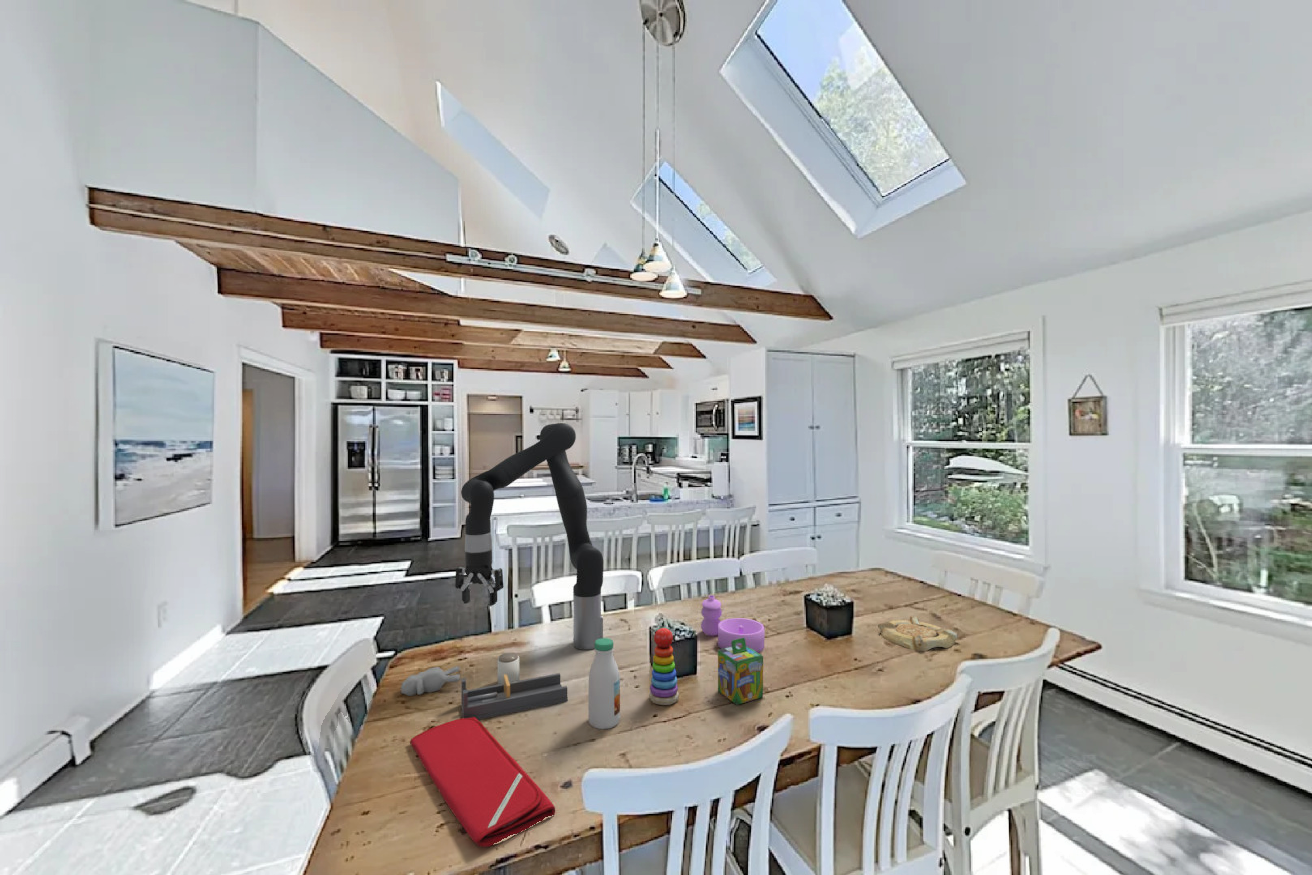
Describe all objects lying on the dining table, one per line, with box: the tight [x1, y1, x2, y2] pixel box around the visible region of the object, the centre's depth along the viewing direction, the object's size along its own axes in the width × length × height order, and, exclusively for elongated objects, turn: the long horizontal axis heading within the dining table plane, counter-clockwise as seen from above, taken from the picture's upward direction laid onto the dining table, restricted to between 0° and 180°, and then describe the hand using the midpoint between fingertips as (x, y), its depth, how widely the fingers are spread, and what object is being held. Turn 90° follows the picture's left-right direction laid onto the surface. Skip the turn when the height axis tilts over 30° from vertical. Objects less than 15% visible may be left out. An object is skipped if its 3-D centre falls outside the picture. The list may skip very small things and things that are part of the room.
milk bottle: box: [588, 637, 621, 730], centre depth 130 cm, size 8×8×20 cm
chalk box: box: [717, 638, 764, 706], centre depth 143 cm, size 9×9×15 cm
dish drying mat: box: [409, 717, 556, 848], centre depth 110 cm, size 16×41×4 cm, turn 39°
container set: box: [700, 595, 765, 653], centre depth 180 cm, size 25×15×13 cm, turn 40°
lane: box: [460, 672, 568, 721], centre depth 139 cm, size 26×10×7 cm, turn 113°
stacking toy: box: [648, 627, 680, 706], centre depth 141 cm, size 8×8×19 cm
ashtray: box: [877, 615, 958, 652], centre depth 182 cm, size 24×24×5 cm
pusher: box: [468, 675, 510, 703], centre depth 136 cm, size 11×7×5 cm, turn 113°
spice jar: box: [496, 652, 520, 685], centre depth 150 cm, size 6×6×8 cm
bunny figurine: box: [400, 665, 461, 697], centre depth 147 cm, size 10×5×15 cm
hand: (479, 603), depth 154 cm, fingers open, 8 cm apart
